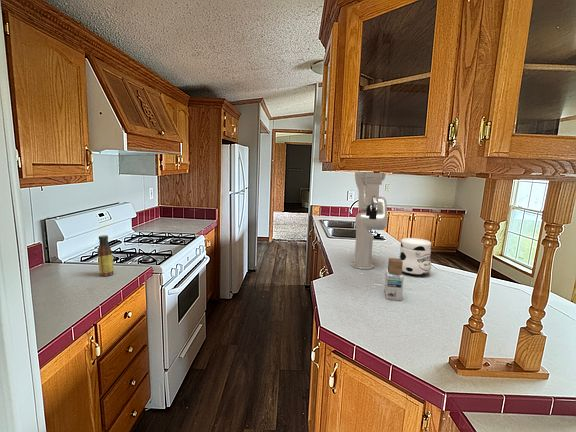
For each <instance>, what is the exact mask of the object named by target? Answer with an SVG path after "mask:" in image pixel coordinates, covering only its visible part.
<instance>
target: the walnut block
mask: <svg viewBox="0 0 576 432" xmlns="http://www.w3.org/2000/svg"><path fill="white" fill-rule="evenodd" d="M387 264H388V265H387V269H388V272H389V273H390V274H396V275H403V272H402V265H403V261H402V260H401V259H400V258H399V257H398V258H395V257H388V262H387Z"/></svg>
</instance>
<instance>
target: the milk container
mask: <svg viewBox="0 0 576 432" xmlns="http://www.w3.org/2000/svg"><path fill="white" fill-rule="evenodd" d="M431 251H432V242H431V241H430V240H428V239H423V238H417V237H416V238H415V237H406V238H401V241H400V249H399V256H398V258H400V259H401V260H402V261H403V265H402V273H404V274H408V275H413V276H425V275H426V276H427V274H429V273H430V272H431V269H432V262H431V254H432V253H431Z"/></svg>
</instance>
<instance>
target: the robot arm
mask: <svg viewBox="0 0 576 432" xmlns="http://www.w3.org/2000/svg"><path fill="white" fill-rule="evenodd" d="M386 176H387V173H386V174H385V173H374V172H354V178H355V179H354V180H355V184H356V187H357V191H358V198H357V199H358V203H357V204H358V210H359V211H360V212H359V213H357V214H356V215H355V246H354V248H355V250H354V261H353V262H351V266H352V267H353V268H355V269H360V270H372V269H373V268H374V267H375V265H374V264H373V263H372V260H373V259H372V257H373V255H372V254H373V245H374V244H373V241H374V237H373V234H372V233H371V230H375V231H384V230H386V229H387V226H388V202H387V199H386V198H385V197H384V196H380V186H382V184H383V181H384V180H385V178H386Z"/></svg>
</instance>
